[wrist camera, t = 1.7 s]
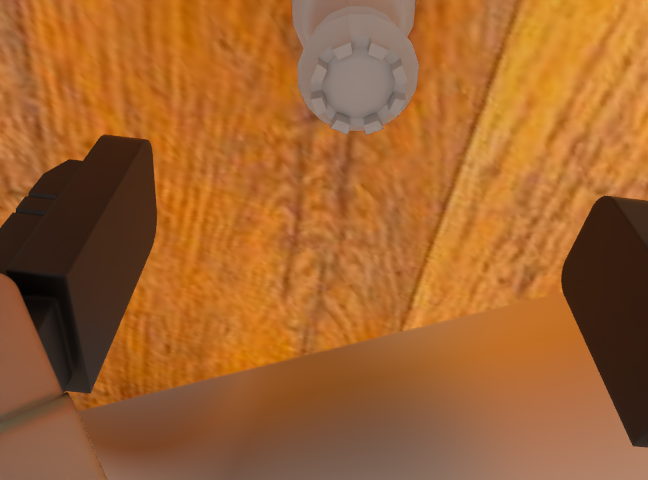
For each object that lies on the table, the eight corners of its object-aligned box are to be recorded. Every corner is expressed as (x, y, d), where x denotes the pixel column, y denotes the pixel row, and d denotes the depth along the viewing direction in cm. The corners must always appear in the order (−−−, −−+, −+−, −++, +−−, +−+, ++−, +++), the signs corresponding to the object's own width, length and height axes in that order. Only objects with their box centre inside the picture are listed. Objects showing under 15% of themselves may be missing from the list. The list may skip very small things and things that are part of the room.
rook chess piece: (279, -52, 20) (250, 19, 13) (407, -80, 19) (441, -19, 13) (305, 70, 22) (293, 178, 16) (419, 50, 22) (452, 152, 15)
